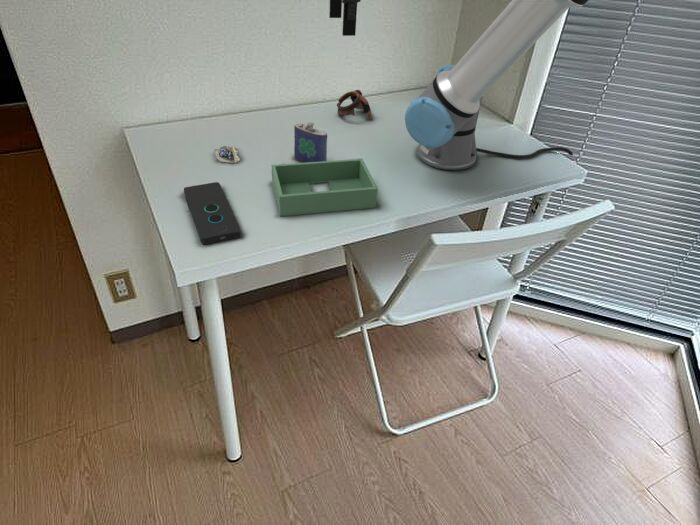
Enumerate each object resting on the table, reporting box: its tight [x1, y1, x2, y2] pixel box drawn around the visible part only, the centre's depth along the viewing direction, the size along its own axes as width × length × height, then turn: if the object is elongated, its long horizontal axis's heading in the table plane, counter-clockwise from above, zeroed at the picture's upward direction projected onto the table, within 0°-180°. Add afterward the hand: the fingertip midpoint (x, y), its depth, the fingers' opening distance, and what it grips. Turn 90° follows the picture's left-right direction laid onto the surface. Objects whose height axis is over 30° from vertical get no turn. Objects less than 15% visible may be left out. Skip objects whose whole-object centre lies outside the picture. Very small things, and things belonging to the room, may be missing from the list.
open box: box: [271, 158, 379, 217], centre depth 116 cm, size 22×14×5 cm, turn 104°
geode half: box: [213, 145, 241, 164], centre depth 129 cm, size 7×8×2 cm
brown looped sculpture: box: [336, 89, 372, 121], centre depth 151 cm, size 12×10×8 cm
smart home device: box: [183, 181, 242, 246], centre depth 109 cm, size 8×2×20 cm
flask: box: [293, 121, 328, 163], centre depth 126 cm, size 9×3×11 cm, turn 60°
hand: (341, 26), depth 116 cm, fingers open, 13 cm apart
